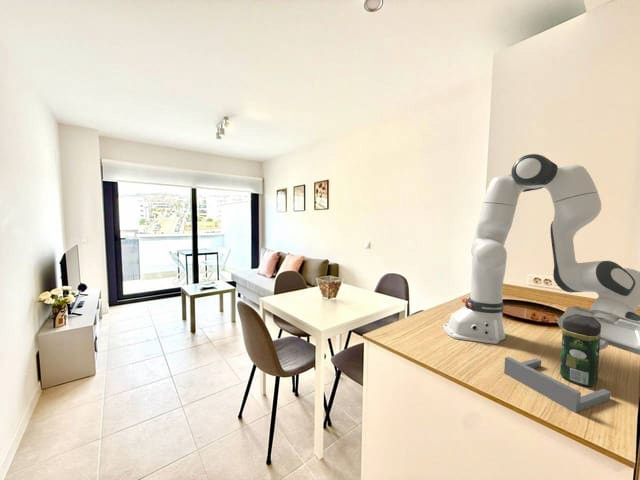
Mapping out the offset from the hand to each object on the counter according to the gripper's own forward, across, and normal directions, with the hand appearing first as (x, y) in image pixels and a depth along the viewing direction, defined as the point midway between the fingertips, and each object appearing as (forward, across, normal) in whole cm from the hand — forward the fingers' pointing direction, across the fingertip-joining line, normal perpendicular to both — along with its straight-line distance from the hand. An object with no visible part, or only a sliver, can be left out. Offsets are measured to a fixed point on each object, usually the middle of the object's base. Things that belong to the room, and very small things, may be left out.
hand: (588, 351), depth 81 cm
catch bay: (+16, 0, -6) cm, 17 cm away
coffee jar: (+9, 0, +2) cm, 9 cm away
